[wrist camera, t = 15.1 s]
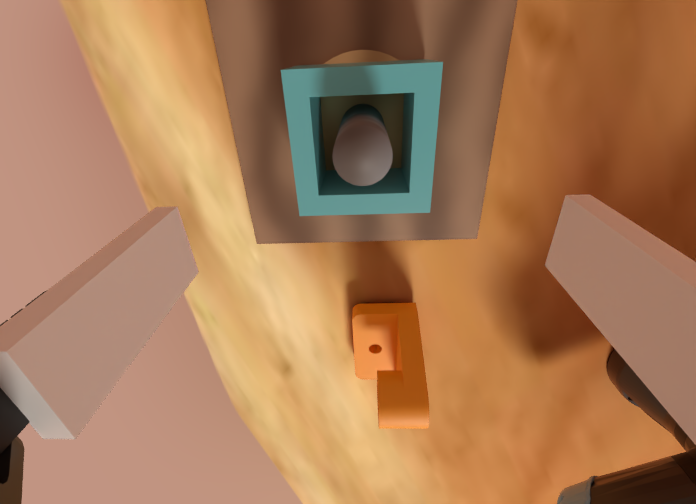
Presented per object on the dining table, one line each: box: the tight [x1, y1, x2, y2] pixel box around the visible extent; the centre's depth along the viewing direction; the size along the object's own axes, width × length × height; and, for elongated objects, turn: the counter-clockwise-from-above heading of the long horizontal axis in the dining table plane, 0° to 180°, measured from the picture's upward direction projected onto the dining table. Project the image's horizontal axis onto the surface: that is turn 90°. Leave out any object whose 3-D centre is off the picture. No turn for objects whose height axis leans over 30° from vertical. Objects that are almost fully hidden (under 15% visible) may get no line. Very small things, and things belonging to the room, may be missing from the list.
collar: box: [281, 59, 443, 216], centre depth 26 cm, size 10×10×6 cm
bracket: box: [352, 303, 429, 428], centre depth 37 cm, size 11×7×12 cm, turn 3°
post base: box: [206, 0, 517, 244], centre depth 25 cm, size 22×22×11 cm
